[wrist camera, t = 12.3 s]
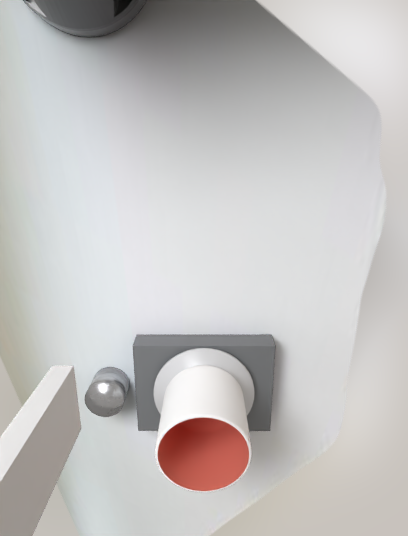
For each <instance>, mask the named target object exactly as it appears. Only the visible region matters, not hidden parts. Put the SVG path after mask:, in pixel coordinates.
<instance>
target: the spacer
mask: <svg viewBox="0 0 408 536" xmlns="http://www.w3.org/2000/svg"><path fill="white" fill-rule="evenodd" d="M128 388H129V379H128V377H127V375H126V374H125V373H124V372H123V371H122V370H120V369H118V368H114V367H106V368H103V369H101V370H99V371H98V372H97V373H96V375H95V377H94V379H93V381H92V383H91V385H90V387H89V389H88V390H87V392H86V395H85V404H86V406H87V408H88V409H89V410H90V411H91V412H92V413H94V414H96V415H98V416H102V417H109V416H113V415H115V414H117V413H118V412H119V411H120V410H121V409H122V406H123V403H124V400H125V397H126V394H127V391H128Z"/></svg>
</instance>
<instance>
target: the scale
mask: <svg viewBox="0 0 408 536" xmlns="http://www.w3.org/2000/svg"><path fill="white" fill-rule="evenodd" d="M133 358H134V373H135V388H136V403H137V417H138V431H158V429H159V423H160V418H161V412H162V406H163V400H164V395H165V391H166V388H167V386H168V384H169V383H170V381H171V380H172V379H173V378H174V377H175V376H176V375H177V374H178V373H180V372H181V371H183V370H185V369H187V368H190V367H193V366H198V365H209V366H215V367H218V368H221V369H223V370H225V371H226V372H228V373H229V374H230V375H232V376H233V377H234V378H235V379H236V381H237V382H238V383H239V385H240V387H241V389H242V392H243V397H244V403H245V409H246V416H247V422H248V429H249V431H270V424H271V407H272V391H273V375H274V359H275V344H274V341H273V338H272V335H137V336H136V338H135V341H134V344H133Z"/></svg>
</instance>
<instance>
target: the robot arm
mask: <svg viewBox="0 0 408 536" xmlns="http://www.w3.org/2000/svg"><path fill="white" fill-rule="evenodd" d="M23 1H24V2H25V3H26V4H27V5H28V6H29V7H30V8H31V9H32V10H33V11H34V12H35V13H36V14H37V15H39V16H40V17H41V18H42V19H43V20H45V21H46V22H47V23H49V24H50V25H52V26H53V27H55V28H57V29H59V30H61V31H63V32H66V33H69V34H72V35H77V36H83V37H95V36H101V35H106V34H109V33H111V32H114V31H116V30H118V29H120V28H121V27H123V26H125V25H126V24H127V23H128V22H130V21H131V20H132V19H133V18H134V17H135V16H136V15H137V14H138V12H139V11H140V10H141V8H142V7H143V6H144V4H145V2H146V1H147V0H23ZM80 430H81V422H80V414H79V406H78V398H77V389H76V381H75V373H74V366H52V367H51V368H50V370H49V371H48V372H47V374H46V375H45V377H44V378H43V379H42V381H41V382H40V383H39V385H38V386H37V388H36V389H35V390H34V392H33V393H32V394H31V396H30V397H29V398H28V400H27V401H26V403H25V404H24V405H23V407H22V408H21V409H20V411H19V412H18V414H17V415H16V416H15V418H14V419H13V421H12V422H11V423H10V425H9V426H8V427H7V429H6V430H5V432H4V433H3V434H2V435H1V437H0V536H32V535H33V533H34V531H35V529H36V527H37V524H38V522H39V520H40V518H41V516H42V513H43V511H44V509H45V507H46V505H47V503H48V500H49V498H50V496H51V494H52V491H53V489H54V487H55V485H56V483H57V481H58V478H59V476H60V474H61V472H62V470H63V467H64V465H65V463H66V461H67V459H68V457H69V454H70V452H71V450H72V448H73V446H74V443H75V441H76V439H77V437H78V435H79V432H80Z"/></svg>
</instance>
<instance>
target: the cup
mask: <svg viewBox="0 0 408 536" xmlns="http://www.w3.org/2000/svg"><path fill="white" fill-rule="evenodd" d="M251 458H252V448H251V441H250V435H249V429H248V422H247V416H246V409H245V403H244V397H243V392H242V389H241V387H240V385H239V383H238V382H237V381H236V379H235V378H234V377H233V376H232V375H230V374H229V373H228V372H226V371H225V370H223V369H221V368H218V367H215V366H209V365H198V366H193V367H190V368H187V369H185V370H183V371H181V372H180V373H178V374H177V375H176V376H175V377H174V378H173V379H172V380H171V381H170V383H169V384H168V386H167V388H166V391H165V395H164V400H163V406H162V412H161V418H160V423H159V429H158V435H157V441H156V446H155V459H156V463H157V465H158V468H159V469H160V471H161V473H162V474H163V475H164V476H165V477H166V478H167V479H168V480H169V481H170V482H172V483H173V484H175V485H176V486H178V487H180V488H183V489H186V490H189V491H193V492H214V491H218V490H222V489H225V488H227V487H229V486H231V485H233V484H234V483H236V482H237V481H238V480H239V479H241V477H242V476H243V475H244V474H245V473H246V471H247V470H248V468H249V465H250V463H251Z"/></svg>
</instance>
